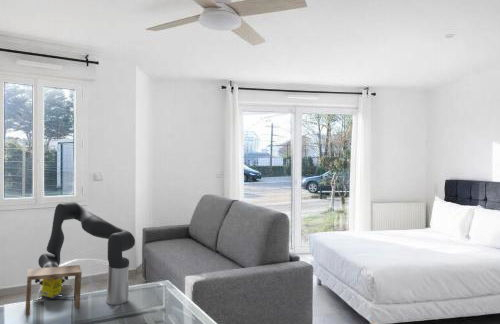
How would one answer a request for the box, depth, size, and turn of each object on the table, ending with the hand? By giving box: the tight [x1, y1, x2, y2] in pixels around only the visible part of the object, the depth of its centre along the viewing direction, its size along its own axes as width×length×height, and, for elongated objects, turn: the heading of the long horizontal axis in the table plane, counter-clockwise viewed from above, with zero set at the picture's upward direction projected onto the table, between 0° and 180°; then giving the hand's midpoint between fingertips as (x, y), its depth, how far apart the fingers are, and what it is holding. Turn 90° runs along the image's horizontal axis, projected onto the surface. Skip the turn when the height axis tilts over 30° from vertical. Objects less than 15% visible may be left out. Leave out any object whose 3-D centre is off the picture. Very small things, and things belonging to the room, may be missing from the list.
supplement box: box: [41, 277, 63, 300], centre depth 178 cm, size 6×6×11 cm
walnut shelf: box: [25, 264, 82, 316], centre depth 170 cm, size 21×10×16 cm, turn 120°
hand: (52, 282), depth 178 cm, fingers closed on supplement box, 8 cm apart
